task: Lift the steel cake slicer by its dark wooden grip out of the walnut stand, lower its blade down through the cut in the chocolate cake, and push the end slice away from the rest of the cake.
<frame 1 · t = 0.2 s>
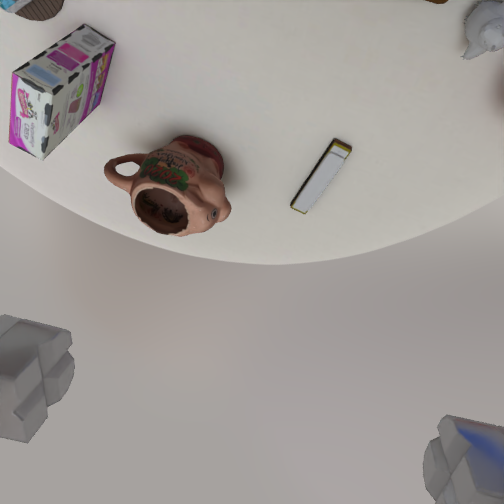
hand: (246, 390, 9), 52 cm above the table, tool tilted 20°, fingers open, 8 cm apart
figurine: (488, 19, 46), on the table
harmonica: (318, 176, 66), on the table
candy bar box: (92, 65, 60), on the table
decorative planter: (187, 156, 69), on the table
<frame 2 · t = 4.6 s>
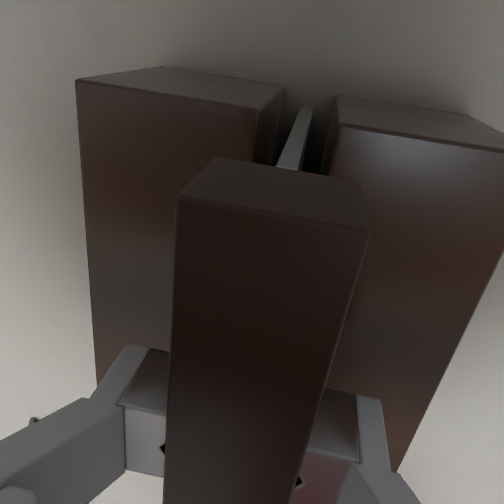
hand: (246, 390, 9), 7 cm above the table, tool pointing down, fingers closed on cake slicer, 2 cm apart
slicer stand: (281, 247, 15), on the table
cake slicer: (281, 246, 15), on the table, touching gripper
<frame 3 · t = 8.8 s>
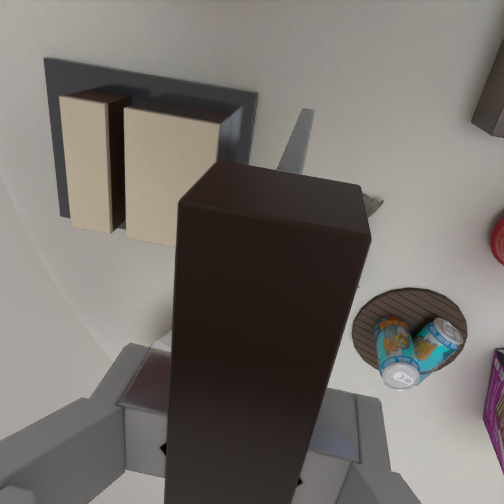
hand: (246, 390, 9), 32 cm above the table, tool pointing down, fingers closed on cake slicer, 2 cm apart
cake slicer: (282, 248, 15), point 25 cm above the table, touching gripper
cake slice: (112, 156, 41), point 1 cm above the table, touching cake
drink cans on coaster: (407, 332, 45), on the table
cake: (149, 160, 41), on the table
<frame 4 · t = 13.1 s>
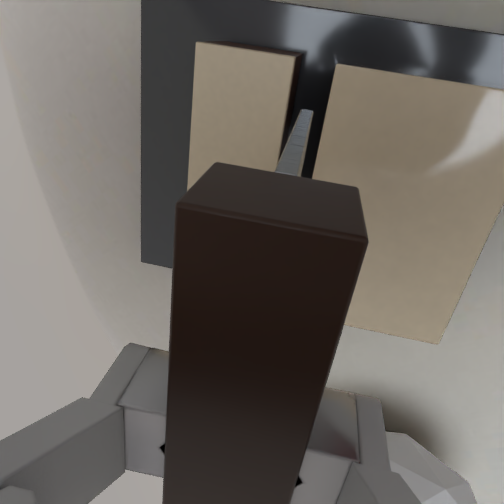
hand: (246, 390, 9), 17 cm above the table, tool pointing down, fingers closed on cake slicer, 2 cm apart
geometric shape: (366, 449, 33), on the table
cake slicer: (281, 249, 15), point 10 cm above the table, touching gripper
cake slice: (247, 164, 23), point 1 cm above the table, touching cake
cake: (311, 172, 23), on the table
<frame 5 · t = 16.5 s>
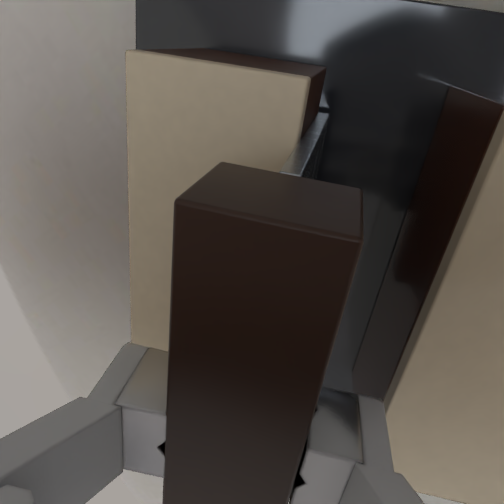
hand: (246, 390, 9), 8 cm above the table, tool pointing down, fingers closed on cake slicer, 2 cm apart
cake slicer: (295, 252, 15), point 1 cm above the table, touching cake slice, gripper
cake slice: (241, 229, 16), point 1 cm above the table, touching cake, cake slicer
cake: (389, 248, 16), on the table
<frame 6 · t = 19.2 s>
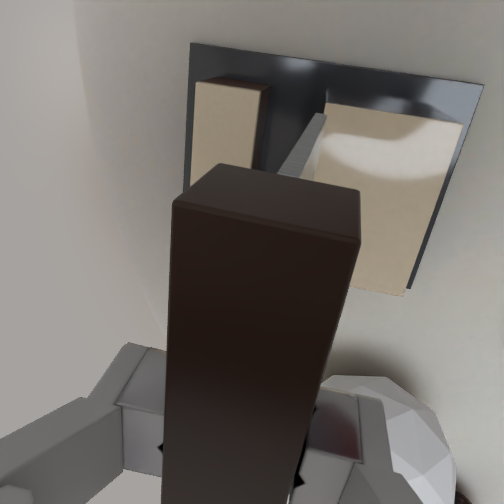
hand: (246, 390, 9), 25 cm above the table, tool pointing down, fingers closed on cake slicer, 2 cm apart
geometric shape: (357, 398, 41), on the table
seashell: (446, 493, 45), on the table
cake slicer: (293, 252, 15), point 18 cm above the table, touching gripper
cake slice: (234, 163, 32), point 1 cm above the table, touching cake
cake: (310, 174, 32), on the table
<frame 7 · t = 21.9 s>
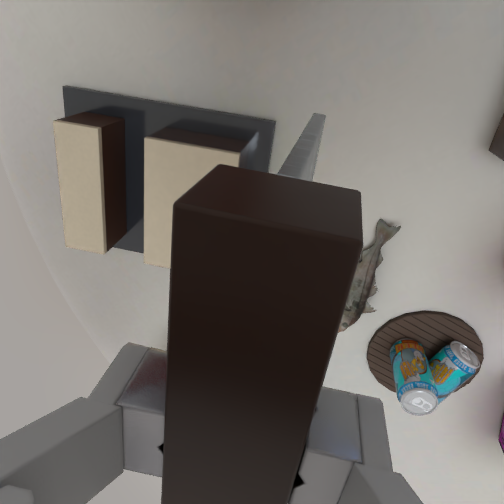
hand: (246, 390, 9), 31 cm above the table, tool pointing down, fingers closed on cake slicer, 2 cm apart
cake slicer: (292, 252, 15), point 24 cm above the table, touching gripper
cake slice: (106, 176, 41), point 1 cm above the table, touching cake
drink cans on coaster: (422, 354, 45), on the table
cake: (165, 185, 41), on the table
fish: (365, 275, 42), on the table
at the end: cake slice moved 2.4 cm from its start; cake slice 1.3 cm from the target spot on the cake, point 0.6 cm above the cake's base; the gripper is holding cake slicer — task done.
